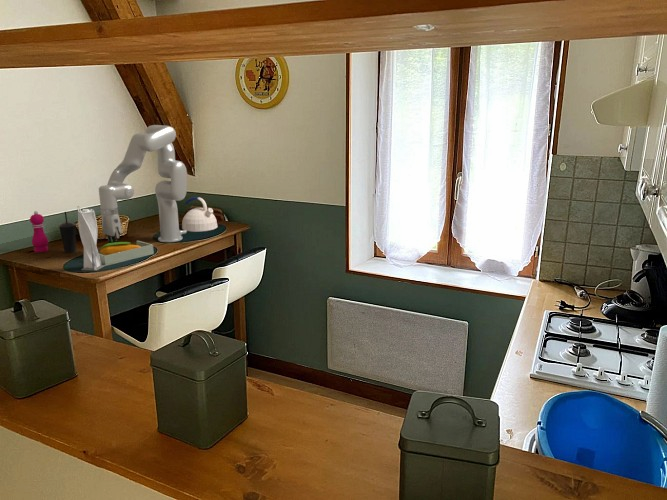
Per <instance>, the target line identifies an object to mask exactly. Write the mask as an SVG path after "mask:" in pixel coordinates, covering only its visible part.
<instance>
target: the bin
mask: <svg viewBox="0 0 667 500" xmlns="http://www.w3.org/2000/svg"><path fill="white" fill-rule="evenodd" d="M136 245H139V246H141V247H139V248H135V249H131V250H127V251H122V252H118V253H114V254H110V255H102V254H100V253H99V257H100V261H101V265H105V266H104V267H106V266H111V265H115V264H119V263H122V262H127V261H132V260H135V259H139V258H142V257H147V256H150V255H154V254H155V251H154V244H151V243H148V242H144V241H142V240H141V241H140V240H136Z"/></svg>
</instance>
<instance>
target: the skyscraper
mask: <svg viewBox="0 0 667 500" xmlns="http://www.w3.org/2000/svg"><path fill="white" fill-rule="evenodd" d="M76 207H77V217H78V218H77V220H78V221H77V222H78V225H77V226H78V232H79V236H80V240H81V244H82V246H83V267H82V268H81V271H93V272H96V271H98V270H101V269H102V268H104V267H106V266H105V265H101V261H100V257H99V254H100V252H99V250H98V247H97V241H98V225H97V223H98V222H97V218H96V212H95V210H94V209H93V208H83V209H82V210H81V207H80V206H79V205H78V206H76Z"/></svg>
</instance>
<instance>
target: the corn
mask: <svg viewBox="0 0 667 500" xmlns="http://www.w3.org/2000/svg"><path fill="white" fill-rule="evenodd" d="M139 247H141V246H139V245H137V244H131V242H129V241H118V242H116V243H109V242H108V243H106V244H104V245H103V246H101V247H100V249H99V250H98V252H99V254H102V255H110V254H114V253H118V252H122V251H127V250H131V249H135V248H139Z"/></svg>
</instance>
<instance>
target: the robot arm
mask: <svg viewBox="0 0 667 500" xmlns="http://www.w3.org/2000/svg"><path fill="white" fill-rule="evenodd" d="M176 136H177V133H176V129H175V128H174V127H172V126H170V125H165V124H164V125H160V124H152V125H149V126H147V127H146V131H145V133H143V132H139V133H134V134H133V136H131V138H130V141H129V143H128V146H127V150H126V151H125V154H124V158H123V160H122V161H121V162H120V163H119V164H118V165H117V166H116V167H115V168H114V169H113V171H112V172H111V174H110V176H109V179H108V182H107V184H106V185H101V186H99V187H98V194H99V195H98V196H99V204H100V205H99V206H100V215H101V229H102V233H103V234H104V236H105V237H107V241H108V243H116V242H117V241H118V239H120V235H122V234H123V230H122V229H123V228H122V222H121V218H120V215H119V207H118V200H119V201H120V200H124V201H126V200H129V199H132V197H133V196H134V194H135V190H134V188H133V186H132V185H130V184H129V183H128V184H127V183H124V181H125V180H126V178H127V176H129V175H130V174H132V173H135V171H138V170H139V169H140V168H141V167H142V165H143V164H142V163H144V159H145V157H146V153H147V152H155V151H156V153H157V173H158V175H159V176H160V177H162V178H165V179H167V180H163V179H162V180H160V181H158V182H157V183H156V184H155V187H154V188H155V189H154V192H155V196H156V200H157V206H158V217H159V230H160V236H159V237H158V238H157V240H158V241H159V242H161V243H175V242H180V241H182V240H183V235H185V234H187V232H188V231H186V230H183V229H182V230H181V229H180V226H179V225H180V224H179V211H178V204H177V203H178V201H179V202H180V201H182V200H184V199H185V197H186V195H187V191H188V170H187V167H186V165H185V163H183V161H180V160H176V151H175V147H174V144H173V142H175V140H176ZM168 179H170V180H168Z"/></svg>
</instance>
